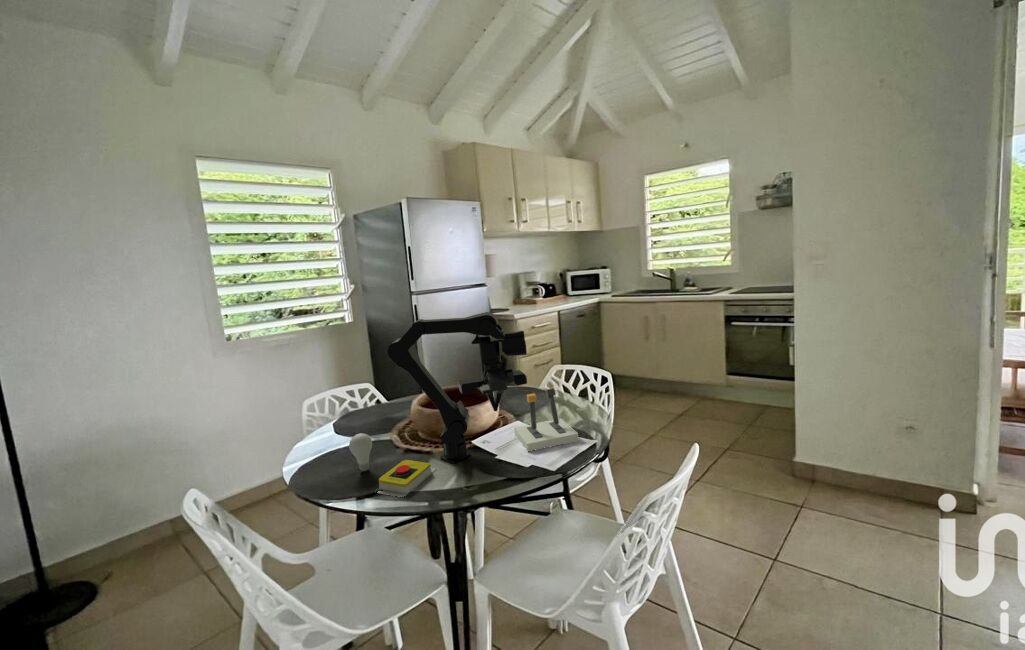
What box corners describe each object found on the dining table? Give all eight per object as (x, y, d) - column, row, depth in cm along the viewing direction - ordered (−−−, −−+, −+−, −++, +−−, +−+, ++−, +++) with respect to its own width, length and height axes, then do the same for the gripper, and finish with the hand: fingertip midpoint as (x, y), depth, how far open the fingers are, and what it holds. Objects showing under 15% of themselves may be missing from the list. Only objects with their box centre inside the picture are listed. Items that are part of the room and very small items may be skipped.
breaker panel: (527, 452, 125) (523, 405, 123) (514, 435, 138) (511, 392, 135) (578, 441, 129) (575, 396, 127) (561, 425, 142) (558, 384, 139)
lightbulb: (355, 478, 118) (349, 441, 116) (351, 469, 124) (346, 433, 122) (377, 472, 121) (372, 435, 119) (373, 463, 126) (368, 427, 124)
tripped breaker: (531, 431, 131) (528, 396, 129) (529, 429, 133) (526, 394, 131) (538, 429, 131) (536, 395, 130) (536, 427, 133) (534, 393, 131)
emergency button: (371, 478, 110) (408, 451, 123) (374, 494, 111) (410, 466, 124) (401, 483, 106) (435, 455, 119) (403, 500, 107) (437, 470, 120)
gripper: (462, 369, 111) (468, 427, 114) (531, 358, 116) (535, 414, 119) (455, 360, 122) (461, 413, 124) (518, 350, 127) (523, 401, 129)
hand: (495, 410), depth 124 cm, fingers closed
